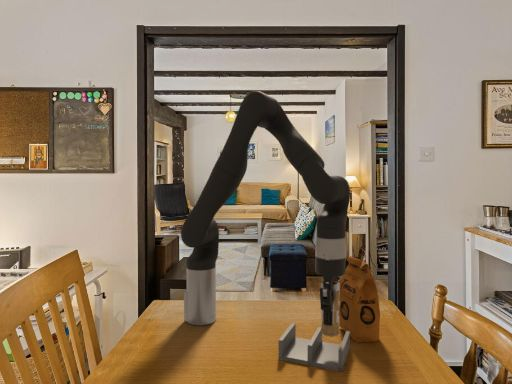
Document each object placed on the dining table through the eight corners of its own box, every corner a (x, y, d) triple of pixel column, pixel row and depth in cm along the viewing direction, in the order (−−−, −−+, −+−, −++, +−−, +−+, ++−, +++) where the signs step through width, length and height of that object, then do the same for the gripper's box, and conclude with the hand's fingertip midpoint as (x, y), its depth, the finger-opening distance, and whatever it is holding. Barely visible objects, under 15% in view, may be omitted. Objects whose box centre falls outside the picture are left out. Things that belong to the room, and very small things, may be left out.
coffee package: (351, 345, 104) (352, 265, 103) (335, 327, 117) (335, 255, 116) (385, 342, 106) (386, 264, 105) (365, 325, 118) (366, 254, 117)
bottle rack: (278, 359, 96) (278, 340, 96) (292, 340, 107) (292, 322, 107) (342, 371, 90) (342, 351, 90) (349, 349, 101) (350, 331, 101)
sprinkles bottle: (342, 334, 97) (343, 282, 96) (329, 338, 94) (330, 285, 93) (330, 328, 100) (330, 278, 100) (317, 332, 98) (317, 280, 97)
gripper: (321, 248, 104) (321, 309, 105) (309, 259, 91) (308, 329, 92) (349, 250, 101) (349, 313, 102) (340, 262, 88) (340, 334, 89)
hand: (329, 320), depth 97 cm, fingers closed on sprinkles bottle, 4 cm apart
